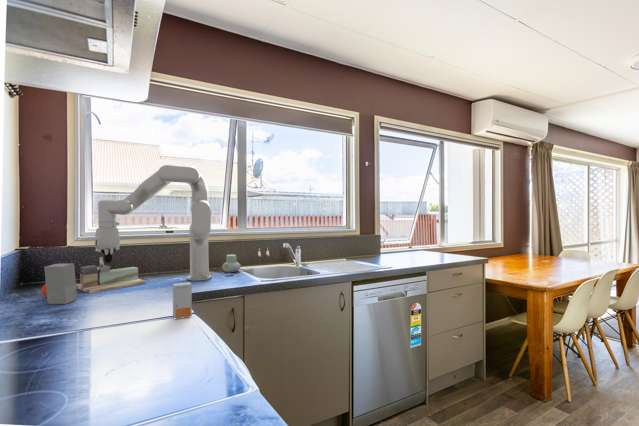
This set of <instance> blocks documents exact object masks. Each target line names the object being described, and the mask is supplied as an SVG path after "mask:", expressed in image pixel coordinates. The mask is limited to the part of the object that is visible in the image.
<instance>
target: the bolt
mask: <svg viewBox="0 0 639 426" xmlns="http://www.w3.org/2000/svg"><path fill="white" fill-rule="evenodd" d="M104 262H105V261H104V256H100V257H99V266H100V267H104V265H105V263H104ZM100 267H99V268H97V272H100ZM82 273H83V270H82Z"/></svg>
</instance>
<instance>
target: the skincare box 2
mask: <svg viewBox="0 0 639 426" xmlns="http://www.w3.org/2000/svg"><path fill="white" fill-rule="evenodd" d="M192 285H193V284H192V283H191V282H190V281H187V282H177V283H173V284H172V317H174V318H182V317H190V316H192V315H193V313H192V307H193V306H192V305H193V304H192V299H193V298H192V296H193V295H192V294H193V291H192V290H193V289H192V287H193V286H192ZM192 317H193V316H192ZM174 318H173V319H174ZM182 319H183V318H182Z"/></svg>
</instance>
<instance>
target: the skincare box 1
mask: <svg viewBox="0 0 639 426" xmlns="http://www.w3.org/2000/svg"><path fill="white" fill-rule="evenodd" d="M43 268H44V277H45V284H46V292H47V297H46V301H47V302H46V303H47V305H64V304H65V305H66V304H68V303H72V302H75V301H77V300H78V292H77V288H76V285H77V281H76V271H75V269H76V268H75V263H74V262H73V263H54V264H49V265H46V266H44V267H43Z"/></svg>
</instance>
